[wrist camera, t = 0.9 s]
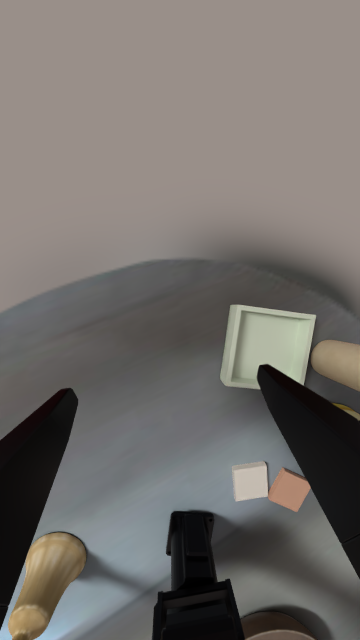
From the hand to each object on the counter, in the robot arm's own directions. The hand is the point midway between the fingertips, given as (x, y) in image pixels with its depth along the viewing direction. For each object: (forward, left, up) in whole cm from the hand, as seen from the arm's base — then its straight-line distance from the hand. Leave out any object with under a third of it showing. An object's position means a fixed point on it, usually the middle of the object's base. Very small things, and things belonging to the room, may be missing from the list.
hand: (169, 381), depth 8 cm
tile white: (-21, -15, -16) cm, 30 cm away
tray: (0, -13, -15) cm, 20 cm away
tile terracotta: (-22, -21, -16) cm, 34 cm away
